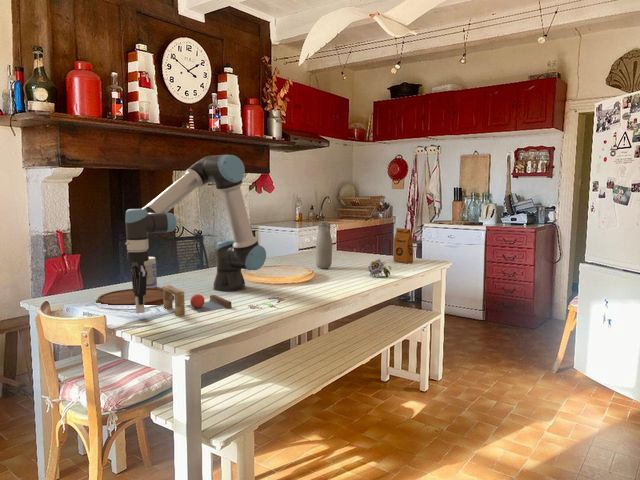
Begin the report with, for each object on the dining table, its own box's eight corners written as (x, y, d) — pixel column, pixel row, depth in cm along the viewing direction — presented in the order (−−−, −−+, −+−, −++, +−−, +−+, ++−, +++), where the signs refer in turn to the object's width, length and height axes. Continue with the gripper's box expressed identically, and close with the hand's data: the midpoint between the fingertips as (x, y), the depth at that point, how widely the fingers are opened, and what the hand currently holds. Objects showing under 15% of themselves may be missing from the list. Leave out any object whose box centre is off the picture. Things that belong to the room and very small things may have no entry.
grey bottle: (315, 270, 285) (316, 222, 281) (315, 267, 295) (315, 221, 291) (332, 270, 285) (333, 222, 282) (331, 267, 295) (332, 221, 292)
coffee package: (405, 264, 306) (406, 229, 304) (391, 261, 316) (391, 228, 313) (415, 262, 313) (416, 228, 310) (401, 260, 322) (401, 227, 320)
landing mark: (214, 301, 209) (214, 300, 209) (228, 307, 199) (228, 306, 199) (185, 305, 201) (185, 305, 201) (198, 312, 191) (198, 311, 191)
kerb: (214, 300, 210) (214, 294, 210) (231, 307, 198) (231, 301, 197) (210, 301, 209) (209, 295, 209) (227, 308, 196) (226, 302, 196)
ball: (185, 299, 197) (192, 309, 199) (191, 301, 193) (198, 312, 195) (196, 290, 200) (203, 301, 202) (202, 292, 195) (209, 303, 198)
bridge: (170, 307, 198) (170, 285, 197) (184, 315, 186) (184, 291, 185) (163, 308, 196) (162, 286, 195) (177, 316, 185) (176, 292, 184)
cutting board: (181, 304, 205) (181, 298, 204) (99, 314, 189) (98, 308, 189) (165, 290, 232) (165, 285, 232) (91, 297, 216) (91, 292, 216)
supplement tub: (158, 288, 233) (157, 258, 231) (137, 290, 229) (136, 259, 227) (155, 285, 241) (154, 255, 240) (135, 286, 237) (134, 257, 236)
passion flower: (373, 287, 264) (361, 268, 265) (382, 280, 273) (370, 262, 274) (388, 277, 257) (375, 259, 258) (397, 271, 266) (384, 253, 267)
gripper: (122, 249, 183) (124, 310, 186) (132, 253, 173) (135, 318, 176) (142, 247, 188) (144, 307, 191) (153, 251, 178) (156, 314, 180)
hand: (140, 312), depth 183 cm, fingers closed
